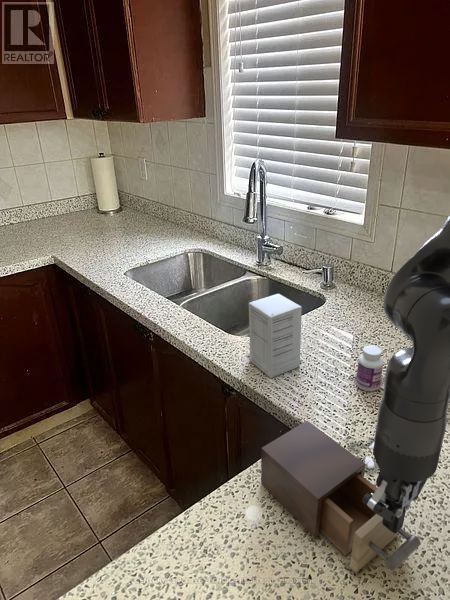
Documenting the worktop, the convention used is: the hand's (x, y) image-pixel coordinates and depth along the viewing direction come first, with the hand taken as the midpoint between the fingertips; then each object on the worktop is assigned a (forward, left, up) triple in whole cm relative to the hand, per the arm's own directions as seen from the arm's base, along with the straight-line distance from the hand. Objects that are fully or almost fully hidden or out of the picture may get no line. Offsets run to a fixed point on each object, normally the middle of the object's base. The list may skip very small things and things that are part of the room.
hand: (392, 526), depth 62 cm
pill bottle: (+29, -33, -9) cm, 44 cm away
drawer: (+5, 0, -8) cm, 9 cm away
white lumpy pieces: (+14, -16, -9) cm, 23 cm away
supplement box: (+49, -22, -9) cm, 54 cm away
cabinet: (+15, 0, -9) cm, 17 cm away
